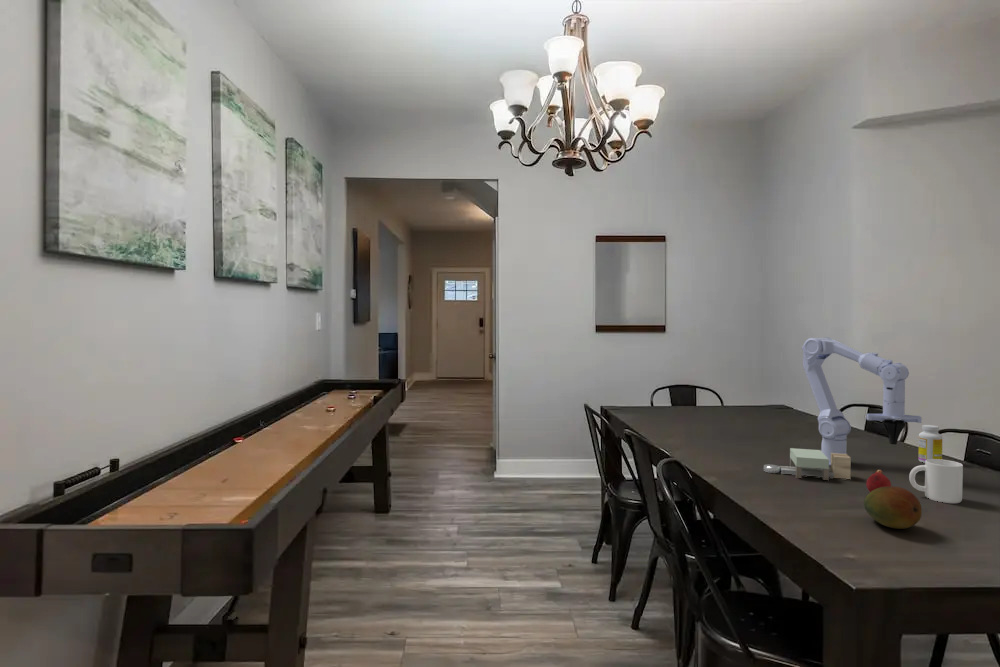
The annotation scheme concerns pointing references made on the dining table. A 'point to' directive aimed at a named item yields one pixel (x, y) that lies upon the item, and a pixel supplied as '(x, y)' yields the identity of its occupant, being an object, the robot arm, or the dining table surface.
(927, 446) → the supplement bottle
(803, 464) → the green top stand
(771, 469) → the token
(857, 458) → the dining table surface
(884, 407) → the robot arm
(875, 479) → the pomegranate
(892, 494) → the fruit
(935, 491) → the mug
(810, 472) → the beige piece
